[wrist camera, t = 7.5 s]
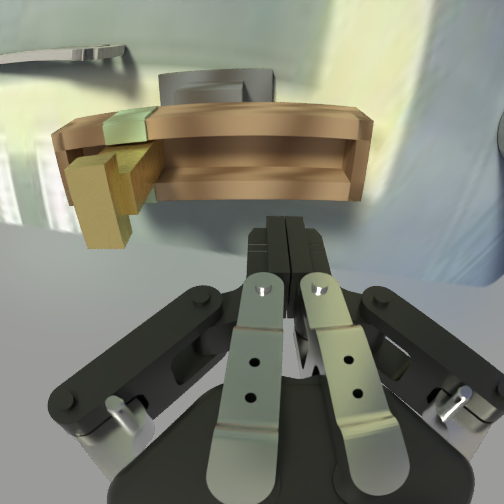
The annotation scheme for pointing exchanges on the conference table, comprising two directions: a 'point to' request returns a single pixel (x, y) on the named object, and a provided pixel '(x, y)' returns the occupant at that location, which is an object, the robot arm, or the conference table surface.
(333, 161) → the beam
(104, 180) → the block
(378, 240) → the conference table surface
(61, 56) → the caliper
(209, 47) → the conference table surface
